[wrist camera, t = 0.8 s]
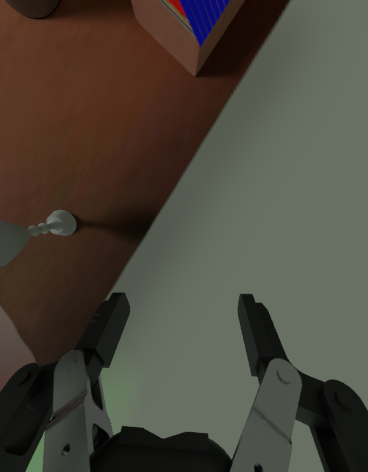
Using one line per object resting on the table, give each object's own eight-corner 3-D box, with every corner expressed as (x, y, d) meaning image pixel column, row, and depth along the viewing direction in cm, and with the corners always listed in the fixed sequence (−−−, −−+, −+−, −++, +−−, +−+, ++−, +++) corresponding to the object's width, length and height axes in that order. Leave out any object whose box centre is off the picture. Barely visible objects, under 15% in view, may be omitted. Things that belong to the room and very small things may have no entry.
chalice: (43, 201, 31) (-129, 214, 14) (80, 206, 31) (-41, 224, 14) (46, 238, 33) (-102, 291, 15) (81, 242, 33) (-24, 298, 16)
